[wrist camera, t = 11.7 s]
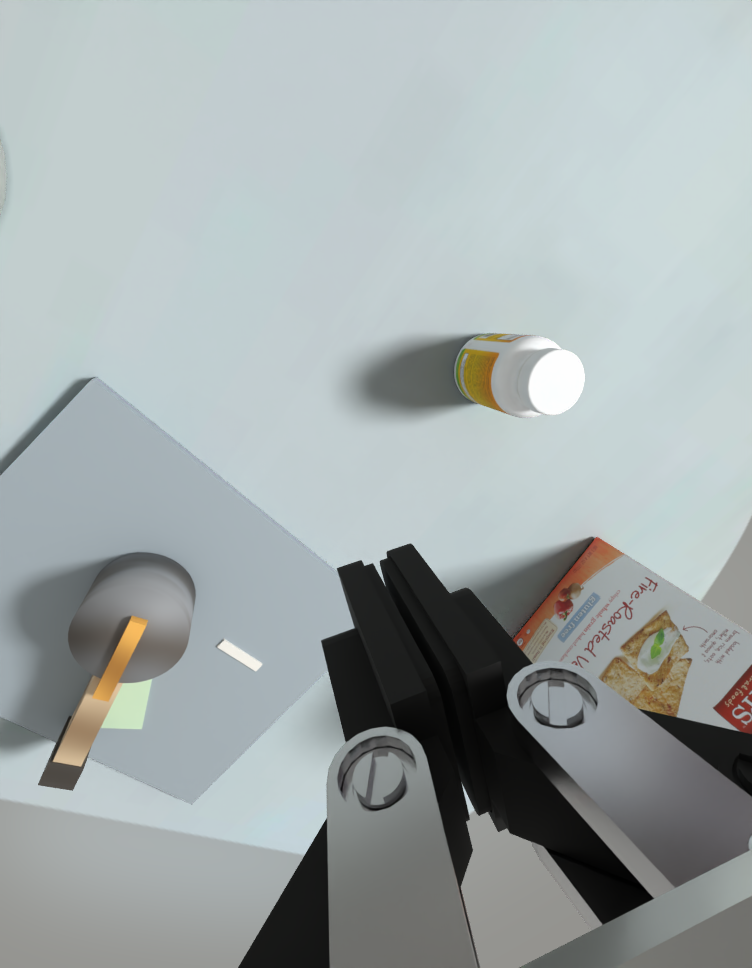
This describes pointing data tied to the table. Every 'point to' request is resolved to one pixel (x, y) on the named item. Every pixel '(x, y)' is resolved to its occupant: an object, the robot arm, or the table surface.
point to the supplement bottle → (519, 374)
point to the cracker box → (645, 640)
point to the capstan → (121, 646)
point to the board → (190, 542)
